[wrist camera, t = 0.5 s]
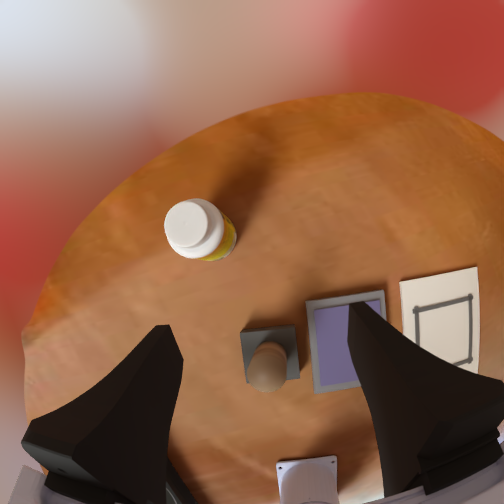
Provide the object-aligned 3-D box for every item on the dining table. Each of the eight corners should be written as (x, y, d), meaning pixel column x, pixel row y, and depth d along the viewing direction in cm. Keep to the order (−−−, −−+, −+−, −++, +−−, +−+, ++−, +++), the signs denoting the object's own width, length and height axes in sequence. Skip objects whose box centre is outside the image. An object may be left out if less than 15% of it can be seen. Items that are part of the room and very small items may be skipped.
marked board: (475, 379, 30) (477, 381, 29) (402, 403, 31) (404, 405, 30) (475, 266, 31) (477, 266, 30) (399, 281, 32) (401, 281, 31)
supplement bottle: (245, 226, 34) (229, 208, 24) (223, 269, 34) (198, 269, 24) (204, 206, 35) (174, 181, 25) (183, 247, 35) (145, 238, 25)
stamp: (299, 372, 33) (302, 400, 25) (248, 377, 33) (238, 405, 25) (294, 323, 33) (296, 339, 25) (242, 329, 34) (229, 346, 26)
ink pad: (385, 377, 31) (389, 381, 30) (313, 390, 32) (314, 394, 31) (380, 289, 32) (384, 290, 31) (305, 300, 33) (306, 302, 32)
